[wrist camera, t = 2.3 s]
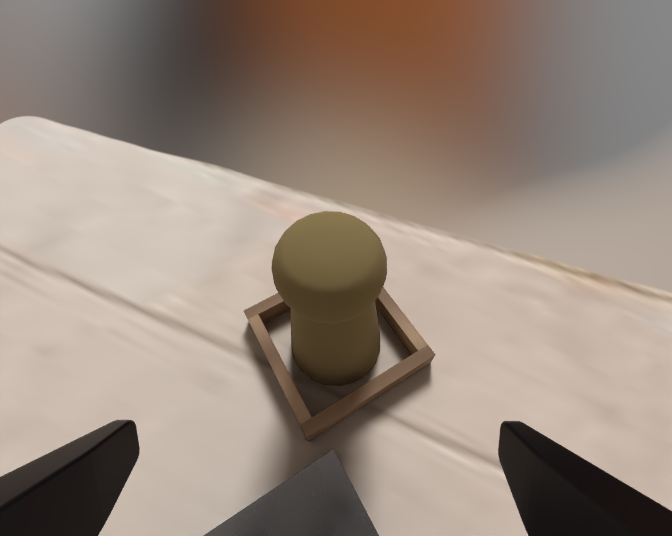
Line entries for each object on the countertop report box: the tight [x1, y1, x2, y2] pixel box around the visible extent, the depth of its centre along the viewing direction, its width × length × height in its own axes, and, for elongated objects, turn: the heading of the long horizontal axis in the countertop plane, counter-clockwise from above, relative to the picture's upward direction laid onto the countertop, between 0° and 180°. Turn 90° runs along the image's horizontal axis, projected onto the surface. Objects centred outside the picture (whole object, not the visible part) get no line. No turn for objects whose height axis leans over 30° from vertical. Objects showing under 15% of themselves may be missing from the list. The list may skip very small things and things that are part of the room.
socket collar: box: [244, 287, 435, 441], centre depth 23 cm, size 9×9×2 cm
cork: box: [272, 211, 387, 386], centre depth 19 cm, size 6×6×11 cm
